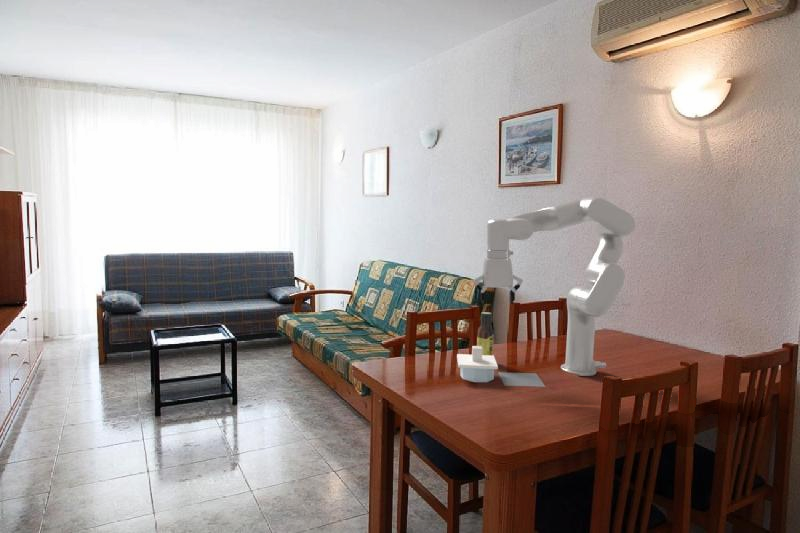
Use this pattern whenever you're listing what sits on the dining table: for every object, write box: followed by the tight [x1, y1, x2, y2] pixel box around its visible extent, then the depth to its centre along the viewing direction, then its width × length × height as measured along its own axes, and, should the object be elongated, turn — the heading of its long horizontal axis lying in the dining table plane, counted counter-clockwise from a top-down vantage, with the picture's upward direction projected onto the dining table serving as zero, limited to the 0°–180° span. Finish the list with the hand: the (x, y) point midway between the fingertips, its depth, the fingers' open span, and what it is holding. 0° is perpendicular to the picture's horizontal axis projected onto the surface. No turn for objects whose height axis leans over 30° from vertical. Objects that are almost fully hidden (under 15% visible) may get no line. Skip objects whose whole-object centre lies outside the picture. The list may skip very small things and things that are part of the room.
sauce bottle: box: [476, 311, 495, 356], centre depth 200 cm, size 7×6×20 cm
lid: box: [456, 345, 499, 370], centre depth 182 cm, size 13×13×6 cm
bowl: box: [459, 368, 495, 383], centre depth 183 cm, size 11×11×6 cm
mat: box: [497, 371, 546, 388], centre depth 182 cm, size 14×14×1 cm
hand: (497, 303), depth 186 cm, fingers open, 9 cm apart
